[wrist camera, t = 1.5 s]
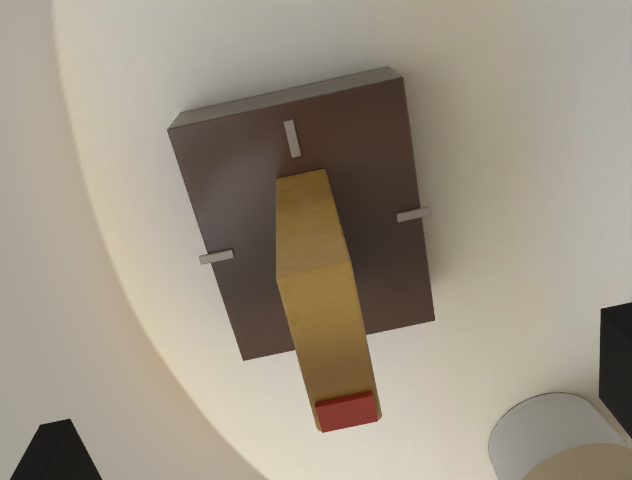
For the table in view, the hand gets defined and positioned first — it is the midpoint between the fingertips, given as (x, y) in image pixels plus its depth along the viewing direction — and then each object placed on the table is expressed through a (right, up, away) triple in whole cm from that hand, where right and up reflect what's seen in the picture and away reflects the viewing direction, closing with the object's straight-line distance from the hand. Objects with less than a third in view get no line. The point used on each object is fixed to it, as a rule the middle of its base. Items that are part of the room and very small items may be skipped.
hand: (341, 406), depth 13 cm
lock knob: (-1, +4, +9) cm, 10 cm away
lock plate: (-1, +6, +12) cm, 13 cm away
